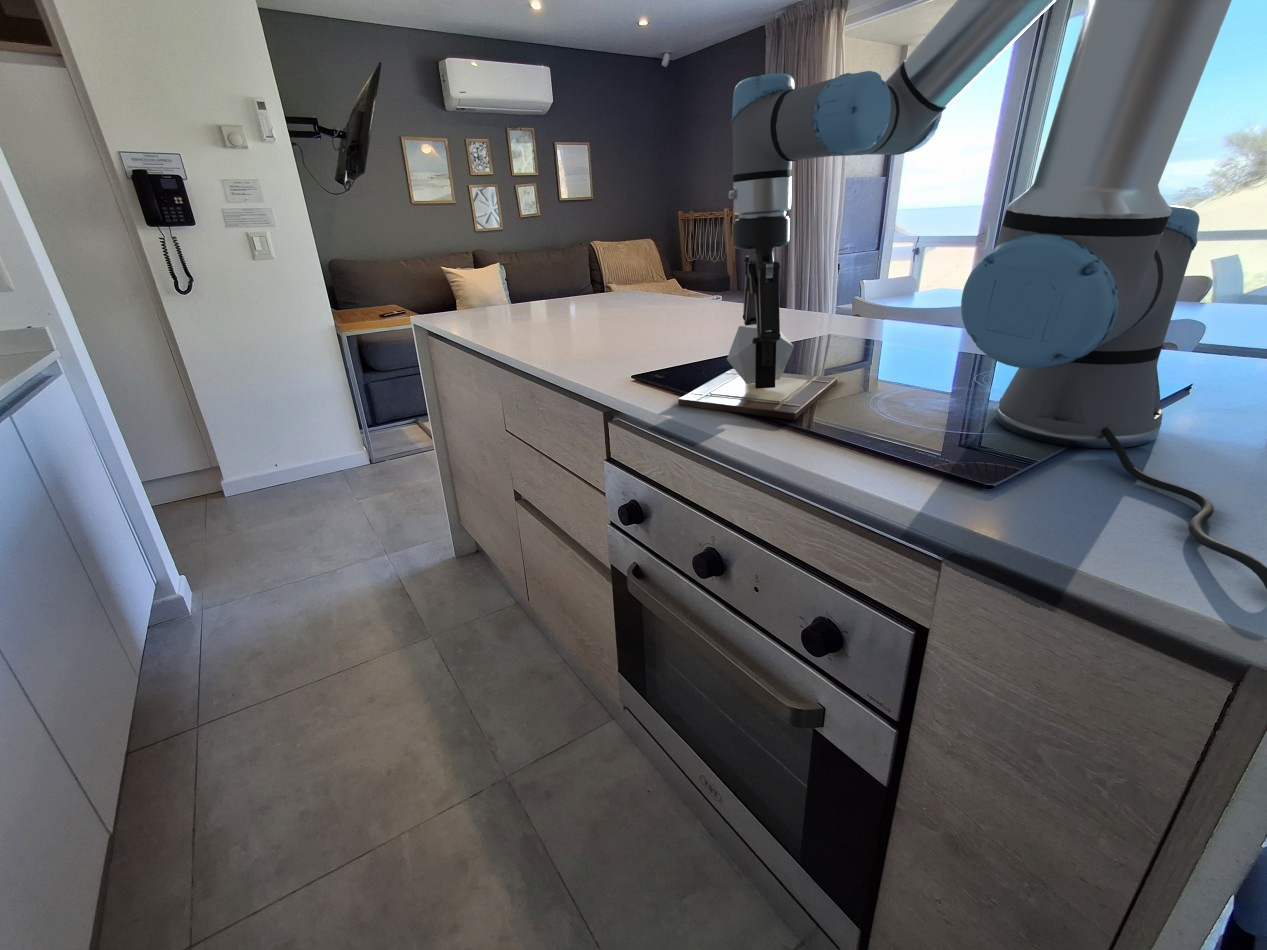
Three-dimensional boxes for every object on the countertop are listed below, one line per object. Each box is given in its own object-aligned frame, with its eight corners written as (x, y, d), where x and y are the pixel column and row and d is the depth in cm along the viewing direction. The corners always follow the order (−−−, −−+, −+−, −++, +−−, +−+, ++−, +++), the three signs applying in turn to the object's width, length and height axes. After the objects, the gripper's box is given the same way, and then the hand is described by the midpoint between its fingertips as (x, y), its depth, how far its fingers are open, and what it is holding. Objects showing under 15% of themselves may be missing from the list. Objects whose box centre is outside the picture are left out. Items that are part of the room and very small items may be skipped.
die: (784, 393, 81) (811, 329, 81) (729, 367, 79) (756, 301, 80) (762, 398, 89) (786, 340, 89) (711, 375, 88) (736, 315, 88)
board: (837, 383, 89) (837, 376, 88) (794, 420, 76) (795, 411, 75) (731, 374, 99) (731, 367, 98) (678, 405, 85) (678, 397, 85)
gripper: (724, 217, 87) (725, 361, 96) (744, 219, 67) (744, 401, 76) (773, 212, 86) (770, 358, 96) (809, 213, 66) (801, 398, 76)
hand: (759, 377), depth 86 cm, fingers closed on die, 9 cm apart
